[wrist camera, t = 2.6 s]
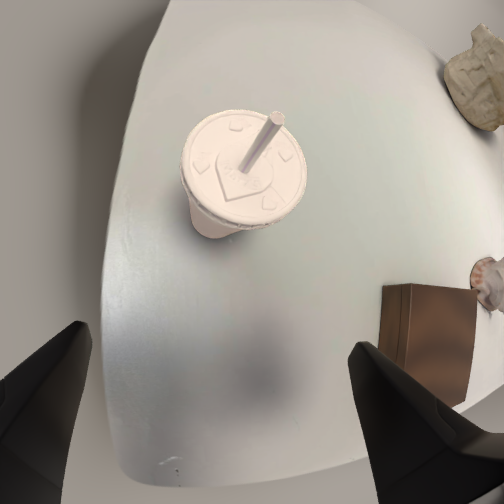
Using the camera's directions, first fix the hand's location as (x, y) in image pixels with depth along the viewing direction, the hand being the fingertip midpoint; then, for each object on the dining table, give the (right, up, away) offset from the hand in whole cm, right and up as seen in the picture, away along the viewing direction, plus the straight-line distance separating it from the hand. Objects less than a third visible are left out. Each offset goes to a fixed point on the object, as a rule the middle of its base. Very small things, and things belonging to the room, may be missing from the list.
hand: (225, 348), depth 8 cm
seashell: (+38, -3, +25) cm, 45 cm away
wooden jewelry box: (+20, -8, +18) cm, 28 cm away
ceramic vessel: (+49, +35, +34) cm, 69 cm away
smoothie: (-2, +6, +14) cm, 15 cm away
